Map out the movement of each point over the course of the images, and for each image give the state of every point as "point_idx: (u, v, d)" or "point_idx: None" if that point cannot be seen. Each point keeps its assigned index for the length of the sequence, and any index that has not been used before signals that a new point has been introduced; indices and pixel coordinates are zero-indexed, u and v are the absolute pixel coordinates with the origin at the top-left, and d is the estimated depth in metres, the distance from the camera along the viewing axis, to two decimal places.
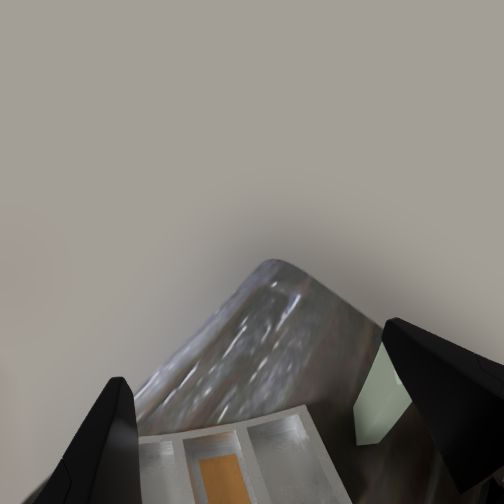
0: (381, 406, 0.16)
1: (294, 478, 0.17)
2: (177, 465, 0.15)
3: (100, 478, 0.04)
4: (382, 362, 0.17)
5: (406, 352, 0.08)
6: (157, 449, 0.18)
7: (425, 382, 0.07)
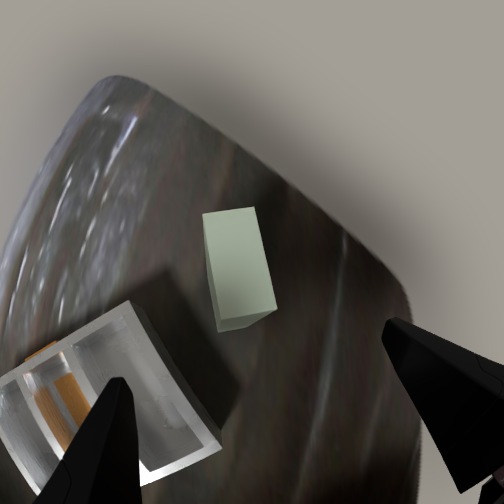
0: (218, 321, 0.13)
1: (149, 388, 0.17)
2: (30, 407, 0.12)
3: (100, 478, 0.04)
4: None
5: (406, 352, 0.08)
6: (15, 384, 0.14)
7: (425, 382, 0.07)
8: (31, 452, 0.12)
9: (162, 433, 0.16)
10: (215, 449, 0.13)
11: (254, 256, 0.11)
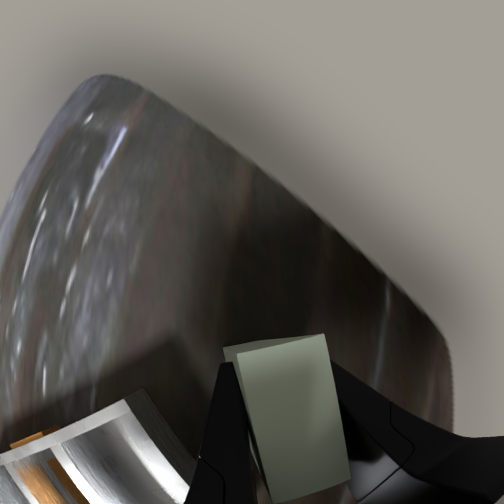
0: (253, 456, 0.08)
1: (158, 478, 0.12)
2: (25, 495, 0.07)
3: None
4: None
5: None
6: None
7: None
8: None
9: None
10: None
11: (323, 419, 0.06)
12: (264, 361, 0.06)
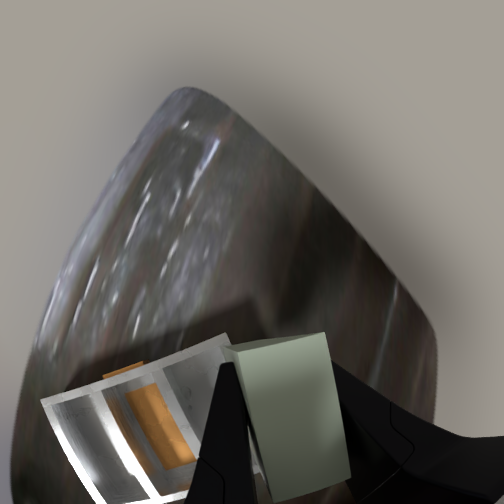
0: (254, 454, 0.08)
1: None
2: (106, 420, 0.15)
3: None
4: None
5: None
6: None
7: None
8: (89, 457, 0.15)
9: None
10: None
11: (324, 417, 0.06)
12: (265, 359, 0.06)
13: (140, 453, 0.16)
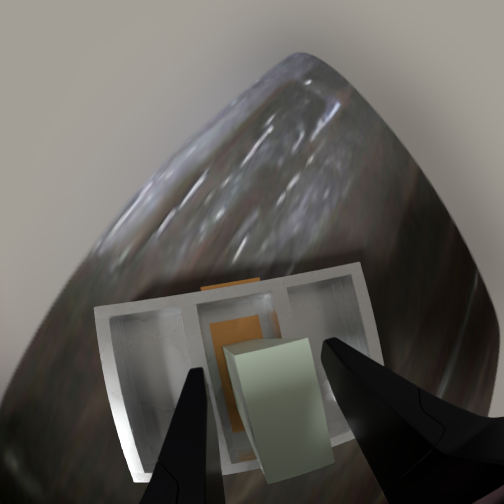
0: (251, 443, 0.09)
1: None
2: (190, 347, 0.14)
3: (207, 474, 0.05)
4: (239, 390, 0.08)
5: (340, 377, 0.08)
6: (155, 313, 0.15)
7: (360, 413, 0.07)
8: (134, 402, 0.14)
9: None
10: None
11: (308, 409, 0.07)
12: (257, 361, 0.07)
13: (216, 402, 0.14)
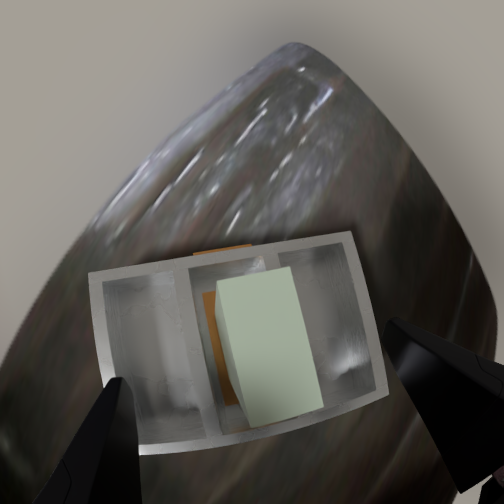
0: (239, 399, 0.09)
1: (318, 327, 0.18)
2: (181, 311, 0.14)
3: (100, 478, 0.04)
4: (224, 329, 0.09)
5: (406, 352, 0.08)
6: (149, 281, 0.16)
7: (425, 382, 0.07)
8: (125, 372, 0.14)
9: None
10: (383, 394, 0.14)
11: (293, 342, 0.07)
12: (239, 287, 0.08)
13: (207, 370, 0.14)
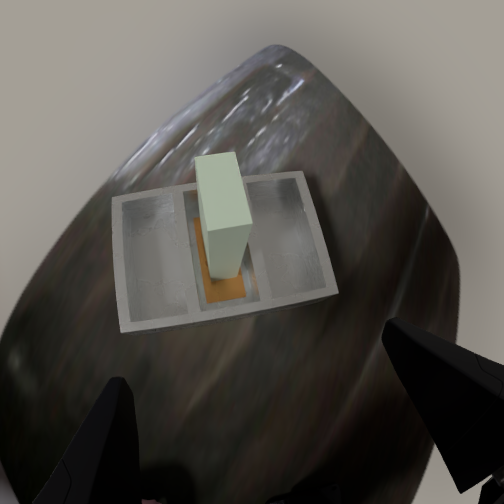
0: (208, 249, 0.15)
1: (282, 245, 0.24)
2: (176, 218, 0.20)
3: (100, 478, 0.04)
4: (199, 192, 0.15)
5: (406, 352, 0.08)
6: (155, 205, 0.22)
7: (425, 382, 0.07)
8: (131, 272, 0.20)
9: (278, 285, 0.23)
10: (333, 292, 0.20)
11: (234, 185, 0.13)
12: (206, 160, 0.14)
13: (193, 266, 0.20)
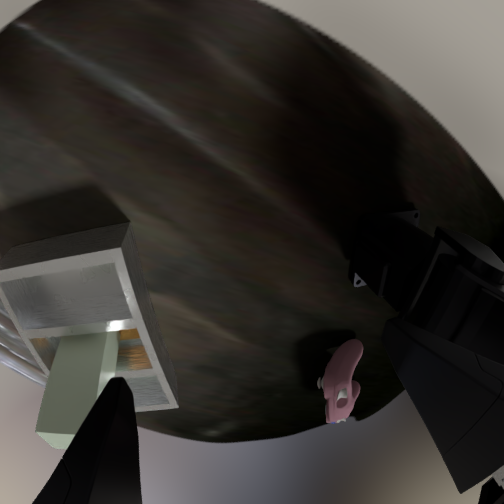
0: None
1: (71, 270, 0.17)
2: None
3: (100, 478, 0.04)
4: None
5: (406, 352, 0.08)
6: None
7: (425, 382, 0.07)
8: None
9: (114, 277, 0.18)
10: (120, 254, 0.14)
11: (65, 437, 0.10)
12: (52, 444, 0.11)
13: None
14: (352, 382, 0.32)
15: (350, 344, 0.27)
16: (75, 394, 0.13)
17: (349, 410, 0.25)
